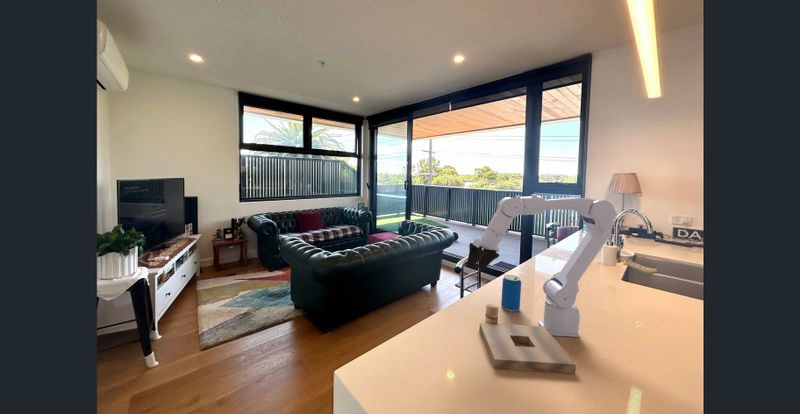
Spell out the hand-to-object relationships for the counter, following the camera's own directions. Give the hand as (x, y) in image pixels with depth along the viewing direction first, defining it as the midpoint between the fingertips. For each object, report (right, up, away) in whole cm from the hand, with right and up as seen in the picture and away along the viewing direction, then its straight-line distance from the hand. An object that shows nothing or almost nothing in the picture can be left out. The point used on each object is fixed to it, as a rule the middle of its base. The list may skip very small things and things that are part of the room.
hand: (474, 267), depth 92 cm
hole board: (+10, -21, -12) cm, 26 cm away
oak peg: (+6, -19, +2) cm, 20 cm away
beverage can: (+17, -18, +14) cm, 29 cm away
